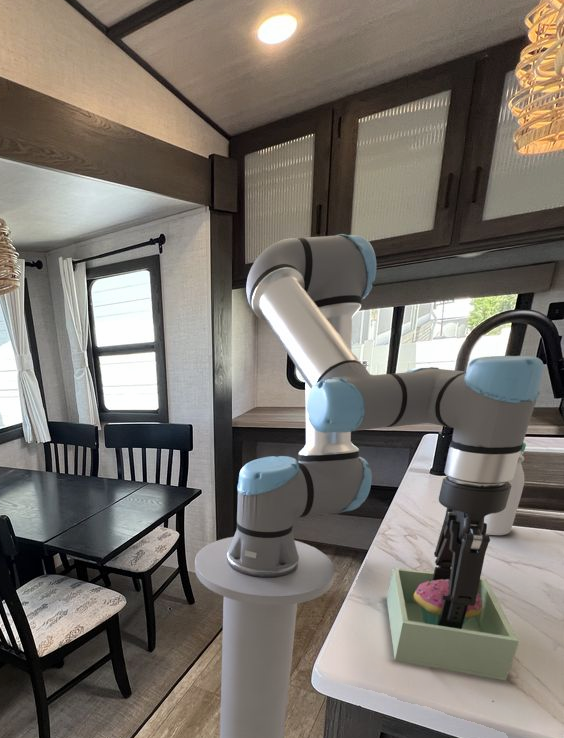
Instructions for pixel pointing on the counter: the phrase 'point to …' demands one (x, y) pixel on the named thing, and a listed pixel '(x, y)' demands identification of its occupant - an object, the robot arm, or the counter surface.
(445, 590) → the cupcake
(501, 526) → the milk bottle
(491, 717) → the counter surface
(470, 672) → the tub
